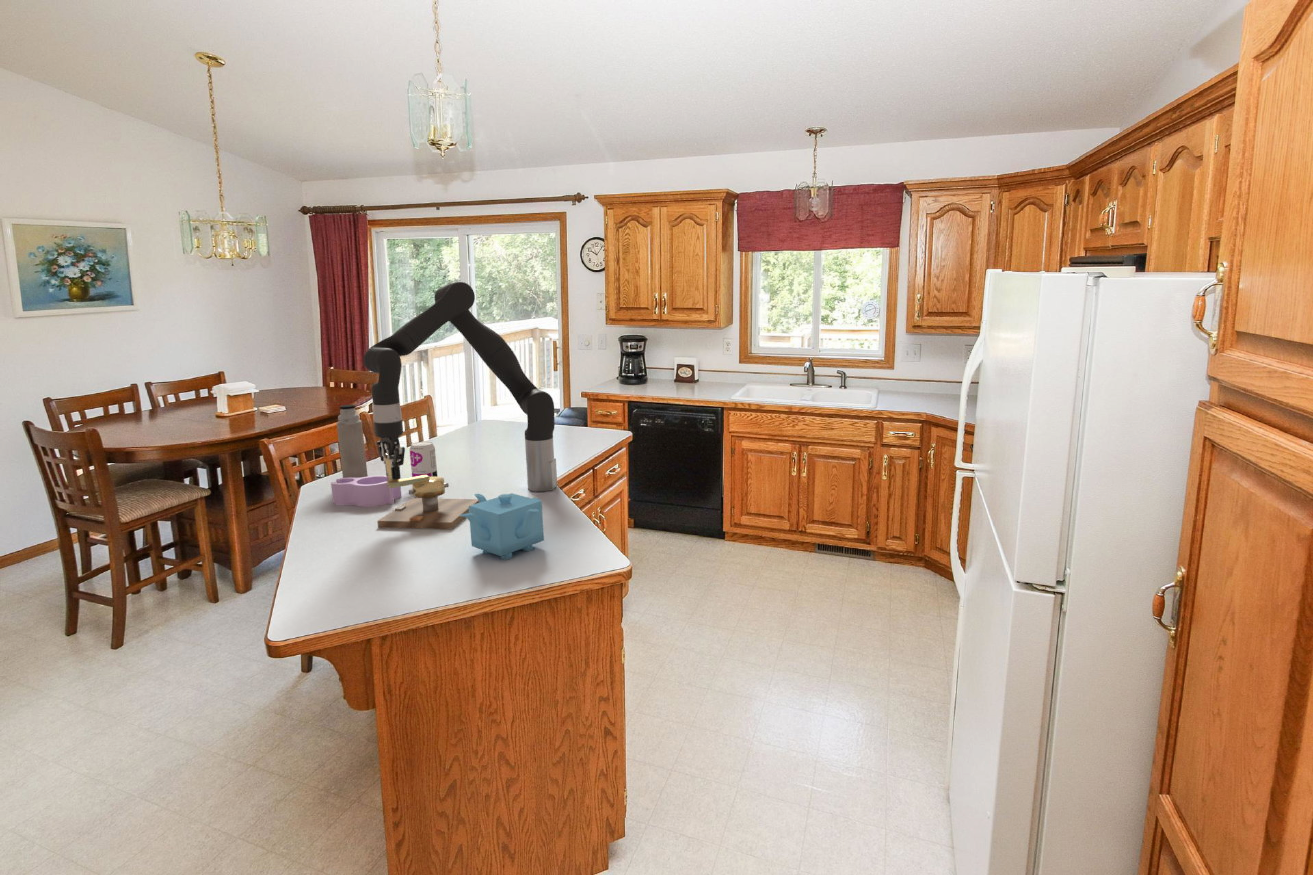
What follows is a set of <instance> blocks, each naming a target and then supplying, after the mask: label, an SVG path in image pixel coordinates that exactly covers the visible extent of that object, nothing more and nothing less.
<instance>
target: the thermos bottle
mask: <svg viewBox="0 0 1313 875" xmlns="http://www.w3.org/2000/svg"><path fill="white" fill-rule="evenodd" d="M339 412H340V414H339V415H338V416H337V420H338V421H337V422H336V429H337V430H336V431H337V438H338V439H337V441H338V447H339V455H340V464H341V472H342V473H341V474H342V478H349V477H354V478H361V477H367V476H368V466H367V458H366V448H365V439H364V430H363V421H362V420H361V419H360V415H359V413H357V410H356V405H355V404H344V405H340V406H339Z"/></svg>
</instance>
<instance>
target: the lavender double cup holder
mask: <svg viewBox="0 0 1313 875" xmlns="http://www.w3.org/2000/svg"><path fill="white" fill-rule="evenodd" d="M387 482H388V480H387V476H386V474H384V475H379V474H375V475H369V476H367V477H361V478H354V477H349V478H343V477H342V478H341V477H340V478H336V479H335V481H332V482H330V485H331V486H330V487H331V488H330V489H331V496H332V504H333V505H337V506H348V505H354V506H358V507H376V506H383V505H388V504H389V505H392V504H393V505H394V504H395V499H400V498H402V490H401V489H402V488H401V487H402V486H401V487H395V488H388V487H387Z"/></svg>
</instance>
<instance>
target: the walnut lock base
mask: <svg viewBox="0 0 1313 875" xmlns="http://www.w3.org/2000/svg"><path fill="white" fill-rule="evenodd" d="M477 503H479V500H478V499H477V498H475V499H473V498H439V496H436V497H431V498H418V497H412V498H411V499H409V500H407V501H406V502H404V503H403V504H401V505H398V506H396V507H395V508H394V510H391V512H389V513H388V514H387V513H386V515H384V516H382V517H381V518H380V519H378V520H377V528H379V529H380V528H384V529H385V528H387V529H388V528H390V529H424V530H426V529H427V530H430V529H431V530H453V529H454V528H455V527H456V526H458V525H459V524H460V523H461V522H462V521H463V520H465V519H467V518H466V517H462V516H460V515H462V514H466V513H469V506H471V505H474V504H477Z"/></svg>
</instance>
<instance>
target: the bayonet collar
mask: <svg viewBox="0 0 1313 875" xmlns="http://www.w3.org/2000/svg"><path fill="white" fill-rule="evenodd" d="M385 460H386V464H385V465H386V467H385V471H386V470H387V480H388V482H387V487H388V488H395V487H406V486H411V485H412V489H408V494H409V495H413V498H431V497H436V496H437V497H440V496H442V495H444V494H445V493H446V488H449V486H450V484H449V483H448V482H446V483H445V477H443V476H438V477H436V476H431V477H429V476H428V475H422V476H416V477H412V476H411V477H406V478H400V479H397V480H393V479H392V473H391V464H390V460H389V459H388V457H387V458H385ZM393 461H394V459H393Z"/></svg>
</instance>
